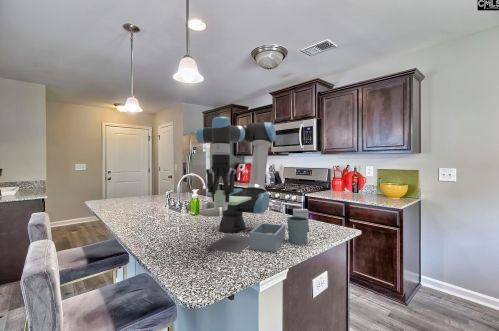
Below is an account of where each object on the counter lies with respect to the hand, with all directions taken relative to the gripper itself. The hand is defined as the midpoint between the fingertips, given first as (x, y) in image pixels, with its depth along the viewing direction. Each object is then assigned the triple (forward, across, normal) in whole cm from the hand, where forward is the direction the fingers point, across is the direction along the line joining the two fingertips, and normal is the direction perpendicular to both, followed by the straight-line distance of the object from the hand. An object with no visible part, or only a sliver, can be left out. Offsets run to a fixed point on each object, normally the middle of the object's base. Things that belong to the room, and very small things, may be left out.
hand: (220, 209), depth 105 cm
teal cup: (+19, +28, +26) cm, 43 cm away
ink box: (+19, +26, +50) cm, 59 cm away
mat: (+19, 0, +13) cm, 23 cm away
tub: (+19, +16, +17) cm, 30 cm away
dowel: (+18, +16, +20) cm, 31 cm away
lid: (-1, 0, +10) cm, 10 cm away
